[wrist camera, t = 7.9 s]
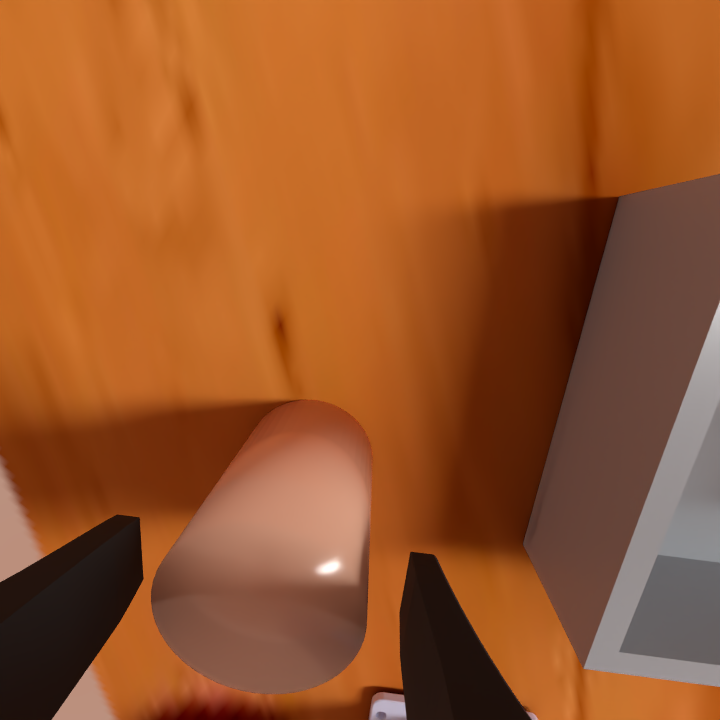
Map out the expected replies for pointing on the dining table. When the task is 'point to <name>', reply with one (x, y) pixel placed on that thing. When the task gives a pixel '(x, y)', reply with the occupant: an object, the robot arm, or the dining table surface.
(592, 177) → the dining table surface
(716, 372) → the tote
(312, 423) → the peach capsule
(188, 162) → the dining table surface
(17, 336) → the dining table surface
